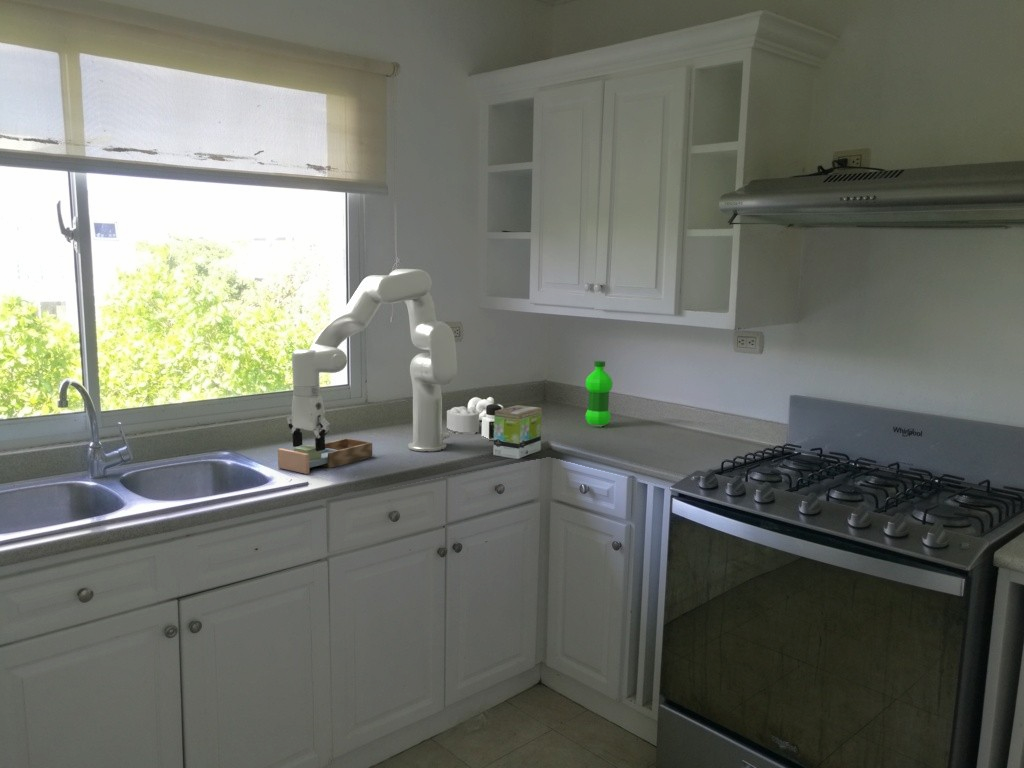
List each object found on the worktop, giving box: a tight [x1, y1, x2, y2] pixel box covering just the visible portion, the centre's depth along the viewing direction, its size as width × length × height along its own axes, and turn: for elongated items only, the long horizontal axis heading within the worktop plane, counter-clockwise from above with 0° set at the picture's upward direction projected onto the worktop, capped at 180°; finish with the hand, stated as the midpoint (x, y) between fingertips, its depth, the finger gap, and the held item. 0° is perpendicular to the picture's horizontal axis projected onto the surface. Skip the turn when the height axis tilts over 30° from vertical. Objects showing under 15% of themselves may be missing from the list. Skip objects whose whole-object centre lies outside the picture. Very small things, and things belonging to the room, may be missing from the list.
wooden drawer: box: [277, 447, 338, 475], centre depth 237 cm, size 18×12×6 cm, turn 146°
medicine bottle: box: [481, 403, 504, 439], centre depth 279 cm, size 7×7×12 cm
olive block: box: [293, 444, 321, 461], centre depth 235 cm, size 6×6×4 cm
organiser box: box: [319, 437, 373, 469], centre depth 245 cm, size 18×11×4 cm, turn 146°
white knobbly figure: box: [467, 396, 495, 420], centre depth 312 cm, size 11×12×9 cm
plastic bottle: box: [585, 360, 613, 426], centre depth 302 cm, size 10×10×25 cm
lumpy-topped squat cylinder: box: [446, 405, 480, 432], centre depth 291 cm, size 10×13×9 cm
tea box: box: [492, 404, 543, 460], centre depth 257 cm, size 15×10×15 cm, turn 151°
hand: (309, 448), depth 235 cm, fingers open, 9 cm apart
